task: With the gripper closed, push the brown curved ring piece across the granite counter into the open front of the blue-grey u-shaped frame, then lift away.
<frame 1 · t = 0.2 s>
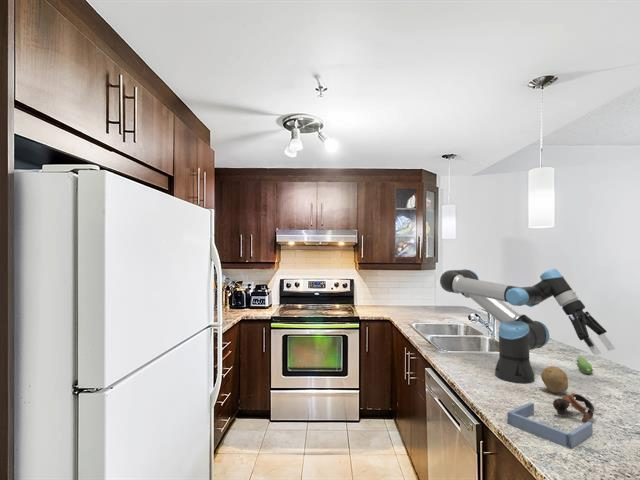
hand: (605, 352, 142), 15 cm above the countertop, tool tilted 35°, fingers open, 13 cm apart
brown curved ring piece: (571, 417, 121), on the countertop
blue-grey u-shaped frame: (548, 429, 113), on the countertop
natural sponge: (555, 393, 142), on the countertop
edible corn: (584, 370, 170), on the countertop
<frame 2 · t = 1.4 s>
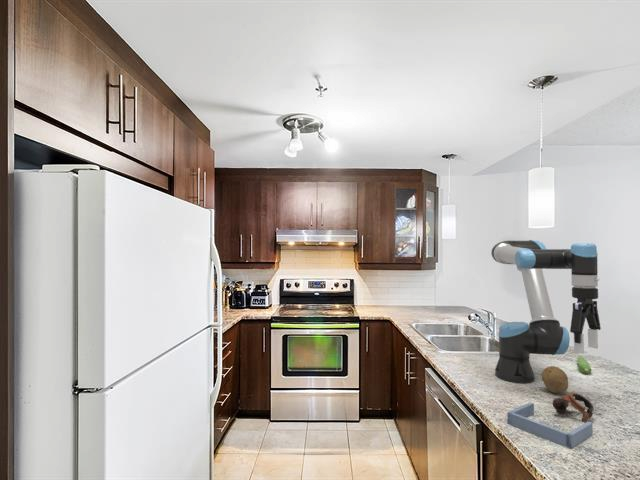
hand: (586, 350, 128), 20 cm above the countertop, tool pointing down, fingers open, 11 cm apart
nothing on the countertop moved.
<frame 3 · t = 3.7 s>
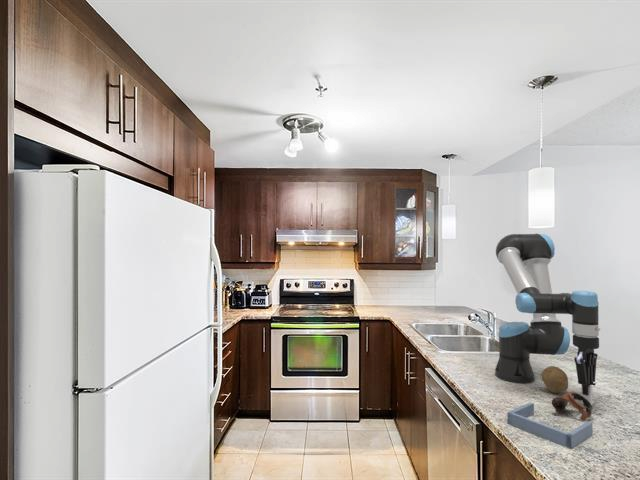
hand: (587, 403, 128), 2 cm above the countertop, tool pointing down, fingers closed
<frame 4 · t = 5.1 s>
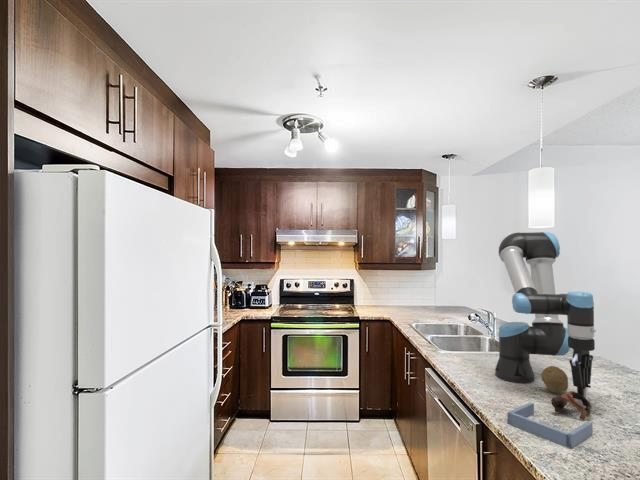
hand: (582, 406, 126), 1 cm above the countertop, tool pointing down, fingers closed
brown curved ring piece: (568, 414, 123), on the countertop, touching gripper
everything else where it was.
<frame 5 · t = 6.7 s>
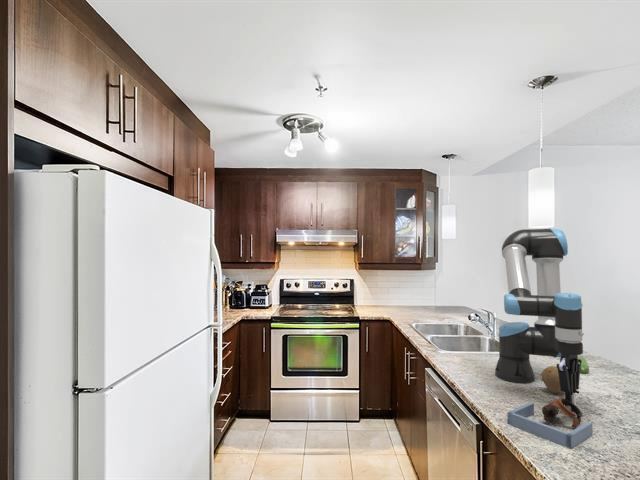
hand: (570, 412, 120), 2 cm above the countertop, tool pointing down, fingers closed
brown curved ring piece: (559, 423, 117), on the countertop, touching gripper
everything else where it was.
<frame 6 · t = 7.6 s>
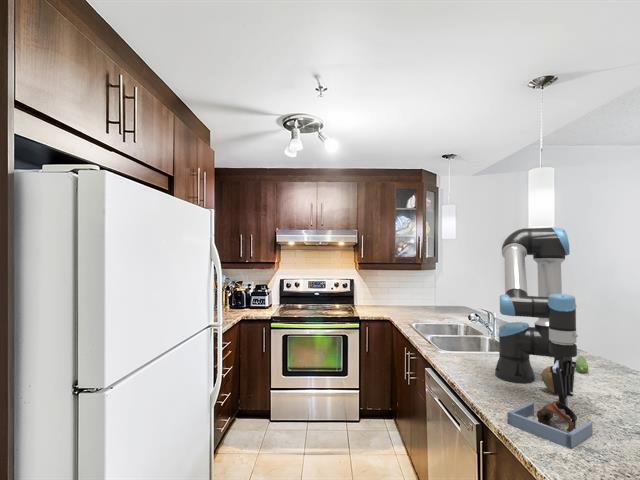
hand: (564, 416, 118), 1 cm above the countertop, tool pointing down, fingers closed
brown curved ring piece: (553, 427, 114), on the countertop, touching gripper
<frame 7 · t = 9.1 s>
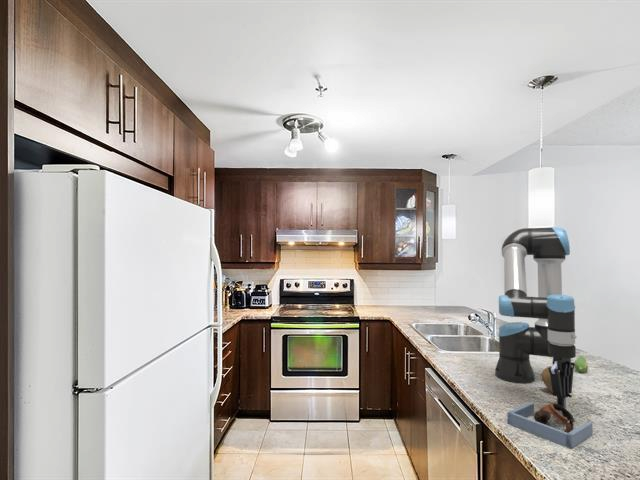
hand: (562, 416, 118), 1 cm above the countertop, tool pointing down, fingers closed
brown curved ring piece: (551, 428, 113), on the countertop
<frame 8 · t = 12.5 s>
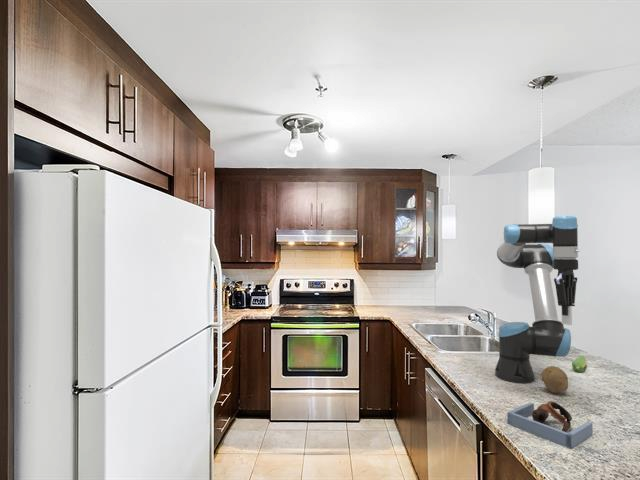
hand: (566, 324, 132), 28 cm above the countertop, tool pointing down, fingers closed
brown curved ring piece: (548, 427, 114), on the countertop
at the end: brown curved ring piece inside the target area (1.9 cm from its centre), on the countertop; brown curved ring piece tilted 0° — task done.
